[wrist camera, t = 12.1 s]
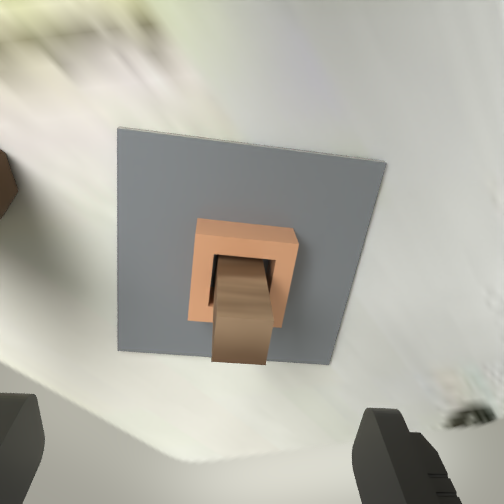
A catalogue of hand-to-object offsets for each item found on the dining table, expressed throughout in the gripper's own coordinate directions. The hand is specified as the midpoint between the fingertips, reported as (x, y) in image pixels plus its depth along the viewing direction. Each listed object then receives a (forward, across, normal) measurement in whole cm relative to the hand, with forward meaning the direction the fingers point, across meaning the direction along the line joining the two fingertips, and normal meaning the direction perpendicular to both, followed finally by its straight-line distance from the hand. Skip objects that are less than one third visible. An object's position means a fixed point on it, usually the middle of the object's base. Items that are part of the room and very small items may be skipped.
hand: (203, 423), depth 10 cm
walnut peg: (+23, -2, +9) cm, 25 cm away
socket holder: (+24, -2, +9) cm, 25 cm away
